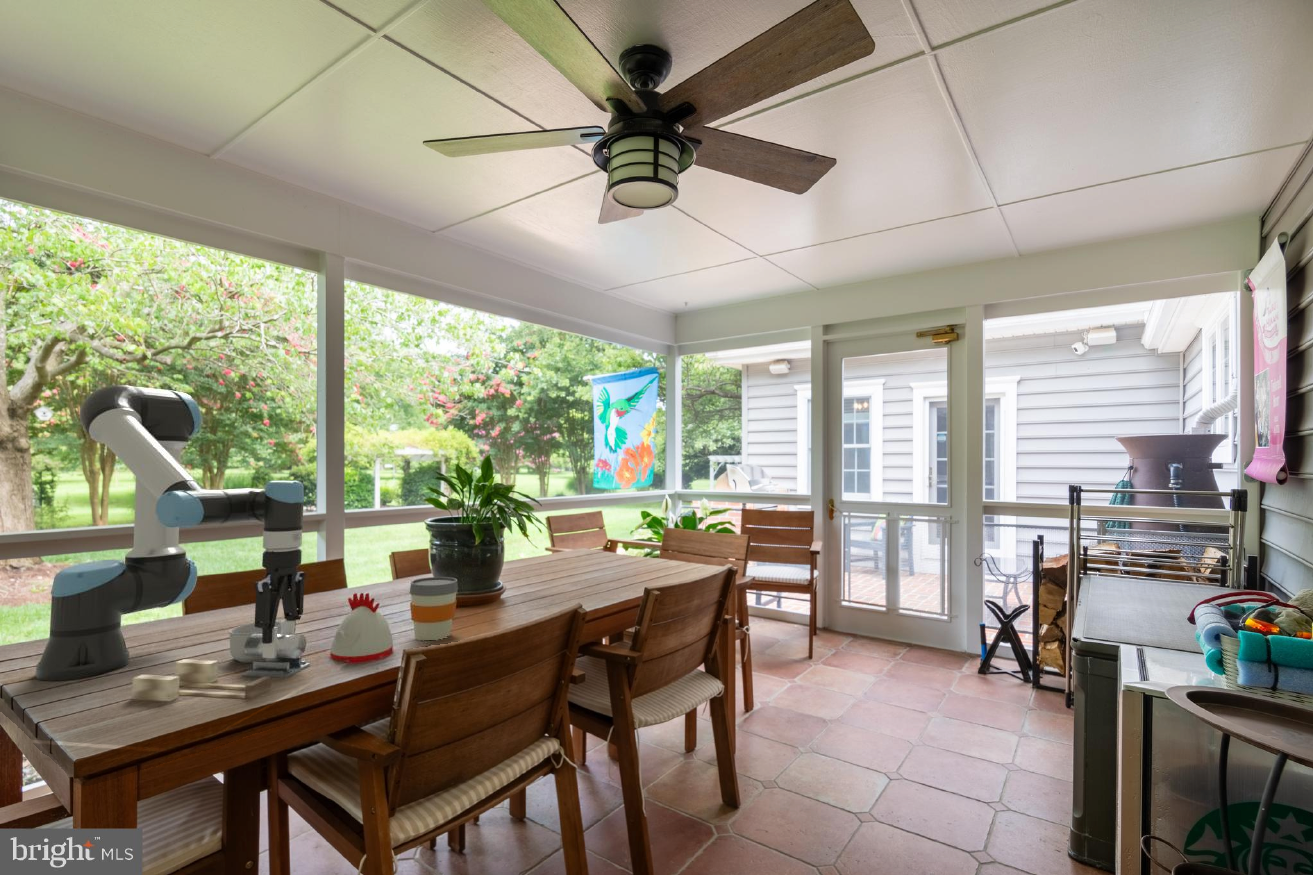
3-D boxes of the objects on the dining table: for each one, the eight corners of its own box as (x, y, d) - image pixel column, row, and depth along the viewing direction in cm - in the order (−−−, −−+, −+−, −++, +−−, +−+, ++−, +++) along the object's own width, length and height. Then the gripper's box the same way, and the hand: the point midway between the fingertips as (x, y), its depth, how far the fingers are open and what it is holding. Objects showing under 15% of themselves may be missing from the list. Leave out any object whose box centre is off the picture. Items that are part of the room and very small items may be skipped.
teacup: (255, 669, 137) (256, 633, 137) (215, 665, 139) (217, 630, 139) (302, 650, 151) (304, 618, 151) (265, 647, 153) (267, 615, 153)
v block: (242, 677, 131) (243, 663, 132) (269, 665, 139) (269, 652, 139) (285, 679, 130) (286, 665, 131) (309, 667, 138) (310, 654, 139)
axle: (243, 659, 133) (245, 636, 134) (260, 654, 138) (261, 631, 138) (290, 660, 132) (292, 637, 133) (305, 655, 137) (307, 632, 137)
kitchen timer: (355, 644, 157) (358, 586, 158) (403, 647, 154) (406, 589, 155) (317, 661, 143) (319, 597, 144) (369, 665, 141) (371, 600, 141)
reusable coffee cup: (448, 627, 174) (450, 575, 174) (463, 638, 164) (464, 582, 164) (402, 634, 166) (404, 579, 167) (415, 645, 156) (417, 587, 157)
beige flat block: (131, 701, 118) (132, 678, 118) (182, 680, 129) (183, 659, 129) (239, 707, 116) (240, 683, 116) (281, 685, 127) (282, 664, 127)
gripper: (269, 555, 127) (264, 667, 126) (323, 544, 145) (320, 642, 144) (236, 554, 128) (231, 666, 126) (294, 543, 145) (290, 641, 144)
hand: (278, 653), depth 135 cm, fingers closed on axle, 5 cm apart
